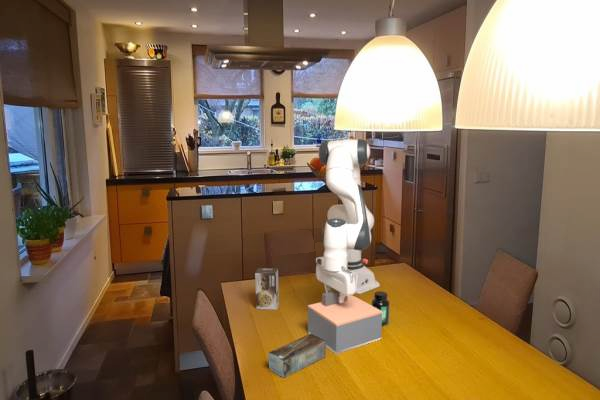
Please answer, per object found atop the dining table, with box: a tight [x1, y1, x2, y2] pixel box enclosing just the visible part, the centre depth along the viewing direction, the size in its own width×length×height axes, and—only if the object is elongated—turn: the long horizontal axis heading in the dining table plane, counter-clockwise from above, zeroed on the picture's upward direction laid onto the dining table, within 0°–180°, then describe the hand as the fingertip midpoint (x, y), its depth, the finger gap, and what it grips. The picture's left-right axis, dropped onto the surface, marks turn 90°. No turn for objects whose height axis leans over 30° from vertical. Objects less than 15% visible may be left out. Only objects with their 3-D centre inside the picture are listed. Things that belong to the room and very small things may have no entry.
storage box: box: [307, 307, 383, 355], centre depth 162 cm, size 20×18×10 cm
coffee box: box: [254, 267, 280, 311], centre depth 188 cm, size 9×6×16 cm
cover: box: [307, 290, 382, 326], centre depth 161 cm, size 20×18×5 cm
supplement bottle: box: [371, 290, 390, 327], centre depth 174 cm, size 7×7×12 cm
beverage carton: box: [268, 333, 327, 379], centre depth 145 cm, size 8×19×7 cm, turn 132°
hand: (334, 298), depth 166 cm, fingers open, 6 cm apart
